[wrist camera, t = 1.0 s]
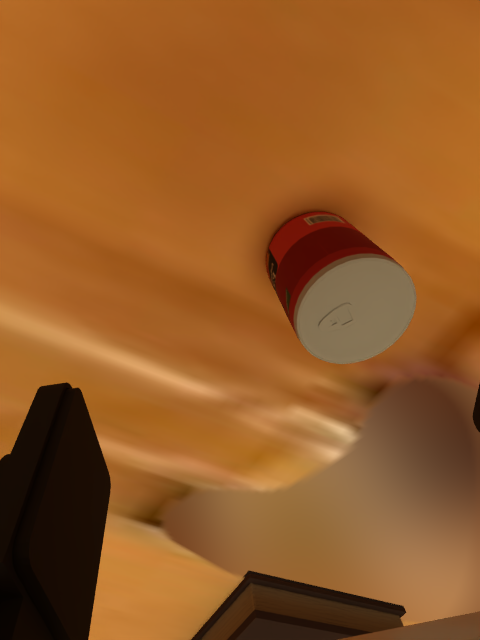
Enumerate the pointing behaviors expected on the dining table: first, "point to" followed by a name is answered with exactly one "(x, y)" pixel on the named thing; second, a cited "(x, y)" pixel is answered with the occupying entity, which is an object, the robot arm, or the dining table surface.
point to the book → (296, 612)
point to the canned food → (339, 288)
